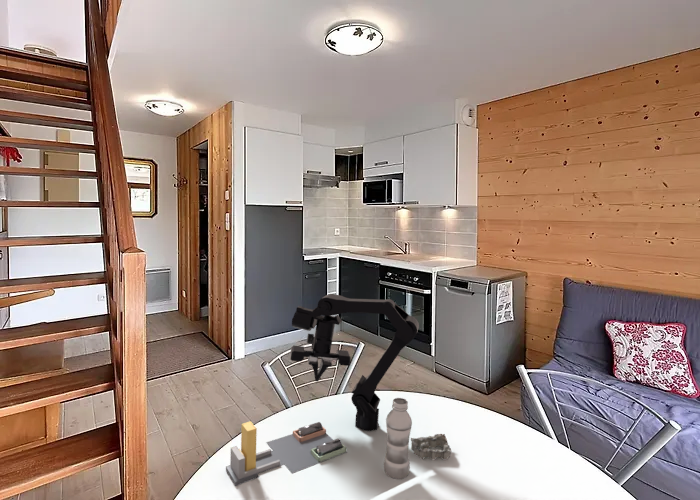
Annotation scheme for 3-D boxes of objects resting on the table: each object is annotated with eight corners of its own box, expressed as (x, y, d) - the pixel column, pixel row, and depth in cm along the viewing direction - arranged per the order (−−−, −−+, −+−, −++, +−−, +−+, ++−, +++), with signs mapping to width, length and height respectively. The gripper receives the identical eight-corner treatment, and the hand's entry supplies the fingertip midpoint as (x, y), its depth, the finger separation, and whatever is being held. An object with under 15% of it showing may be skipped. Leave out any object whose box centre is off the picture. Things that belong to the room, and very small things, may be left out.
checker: (317, 428, 124) (318, 410, 123) (347, 455, 111) (347, 435, 111) (220, 460, 107) (220, 439, 106) (241, 496, 94) (242, 472, 93)
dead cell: (317, 428, 122) (318, 420, 122) (321, 433, 120) (322, 425, 119) (296, 434, 118) (297, 426, 118) (301, 440, 116) (302, 432, 115)
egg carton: (445, 446, 118) (446, 433, 118) (452, 462, 111) (453, 448, 110) (409, 444, 118) (410, 431, 118) (413, 460, 111) (414, 446, 110)
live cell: (336, 446, 114) (336, 436, 114) (341, 451, 111) (342, 441, 111) (314, 454, 110) (315, 444, 110) (320, 459, 107) (320, 449, 107)
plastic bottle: (408, 485, 100) (413, 409, 98) (381, 480, 101) (385, 405, 99) (410, 469, 106) (414, 397, 104) (384, 465, 108) (388, 393, 106)
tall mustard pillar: (249, 460, 105) (250, 421, 104) (255, 469, 102) (256, 428, 101) (240, 463, 104) (241, 423, 103) (246, 472, 100) (247, 431, 99)
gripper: (349, 328, 136) (341, 371, 138) (293, 322, 132) (287, 367, 134) (354, 340, 125) (346, 387, 127) (294, 334, 121) (287, 383, 123)
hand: (316, 380), depth 128 cm, fingers closed
